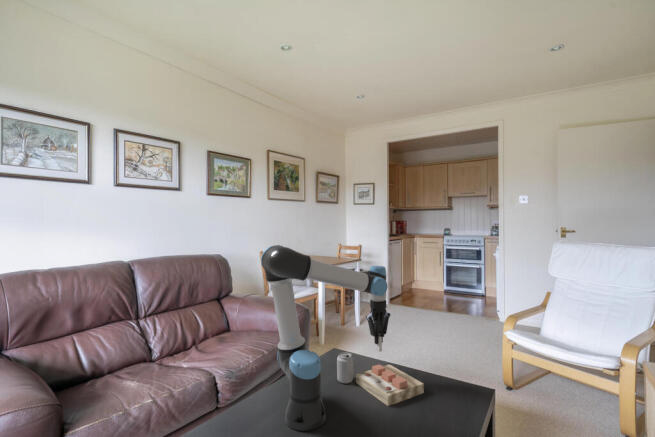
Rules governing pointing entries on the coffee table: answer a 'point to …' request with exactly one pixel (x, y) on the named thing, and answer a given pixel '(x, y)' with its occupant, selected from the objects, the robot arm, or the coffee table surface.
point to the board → (389, 386)
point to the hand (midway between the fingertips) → (378, 350)
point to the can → (345, 368)
